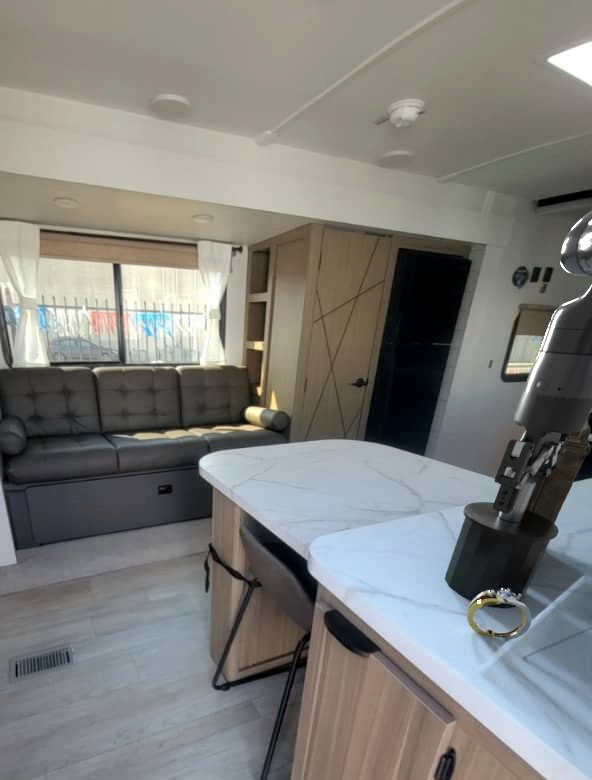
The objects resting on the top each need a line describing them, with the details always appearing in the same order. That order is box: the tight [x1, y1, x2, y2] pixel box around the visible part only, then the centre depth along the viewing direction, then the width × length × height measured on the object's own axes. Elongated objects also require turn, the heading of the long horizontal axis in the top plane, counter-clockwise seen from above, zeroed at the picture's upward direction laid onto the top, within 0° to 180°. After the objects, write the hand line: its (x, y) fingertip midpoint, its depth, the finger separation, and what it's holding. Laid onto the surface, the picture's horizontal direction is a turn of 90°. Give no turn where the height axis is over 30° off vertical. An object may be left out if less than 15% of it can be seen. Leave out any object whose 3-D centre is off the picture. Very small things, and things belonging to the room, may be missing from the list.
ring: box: [466, 587, 532, 642], centre depth 54 cm, size 7×3×8 cm, turn 62°
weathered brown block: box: [510, 419, 592, 525], centre depth 72 cm, size 19×8×25 cm, turn 143°
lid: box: [462, 479, 560, 541], centre depth 59 cm, size 12×12×7 cm
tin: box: [444, 516, 551, 610], centre depth 63 cm, size 11×11×12 cm
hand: (514, 504), depth 59 cm, fingers open, 8 cm apart
